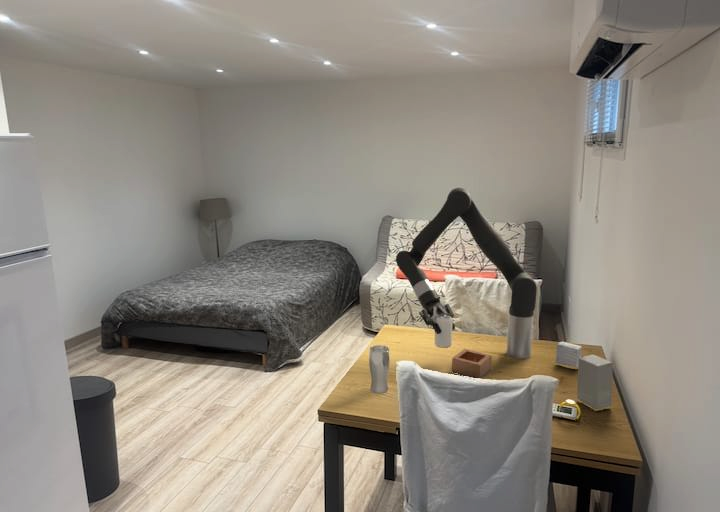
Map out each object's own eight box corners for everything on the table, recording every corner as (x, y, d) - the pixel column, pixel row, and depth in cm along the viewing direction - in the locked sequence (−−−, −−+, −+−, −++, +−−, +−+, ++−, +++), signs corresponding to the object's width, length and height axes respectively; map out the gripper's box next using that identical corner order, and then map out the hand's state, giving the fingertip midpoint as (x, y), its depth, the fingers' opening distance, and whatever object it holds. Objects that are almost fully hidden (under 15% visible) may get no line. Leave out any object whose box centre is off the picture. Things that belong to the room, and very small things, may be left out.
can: (451, 348, 188) (452, 318, 186) (434, 347, 189) (434, 317, 187) (451, 342, 194) (452, 313, 192) (435, 341, 196) (435, 312, 193)
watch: (579, 420, 153) (582, 402, 152) (578, 424, 151) (581, 406, 150) (558, 414, 156) (561, 396, 155) (557, 418, 154) (560, 400, 152)
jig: (463, 363, 194) (464, 348, 193) (490, 370, 188) (491, 355, 186) (451, 373, 185) (452, 358, 184) (479, 380, 179) (480, 365, 178)
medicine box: (580, 367, 190) (582, 346, 188) (576, 371, 187) (578, 349, 185) (559, 361, 195) (561, 340, 194) (555, 365, 192) (556, 344, 191)
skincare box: (611, 409, 159) (616, 362, 156) (593, 413, 157) (598, 366, 153) (590, 397, 167) (595, 352, 164) (573, 401, 164) (578, 355, 161)
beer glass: (382, 396, 168) (383, 354, 165) (365, 391, 171) (365, 349, 168) (392, 388, 173) (393, 347, 170) (375, 383, 177) (375, 343, 174)
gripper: (416, 292, 190) (437, 330, 183) (444, 286, 198) (465, 322, 191) (407, 302, 195) (427, 339, 188) (435, 296, 203) (455, 331, 196)
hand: (446, 331), depth 189 cm, fingers closed on can, 6 cm apart
